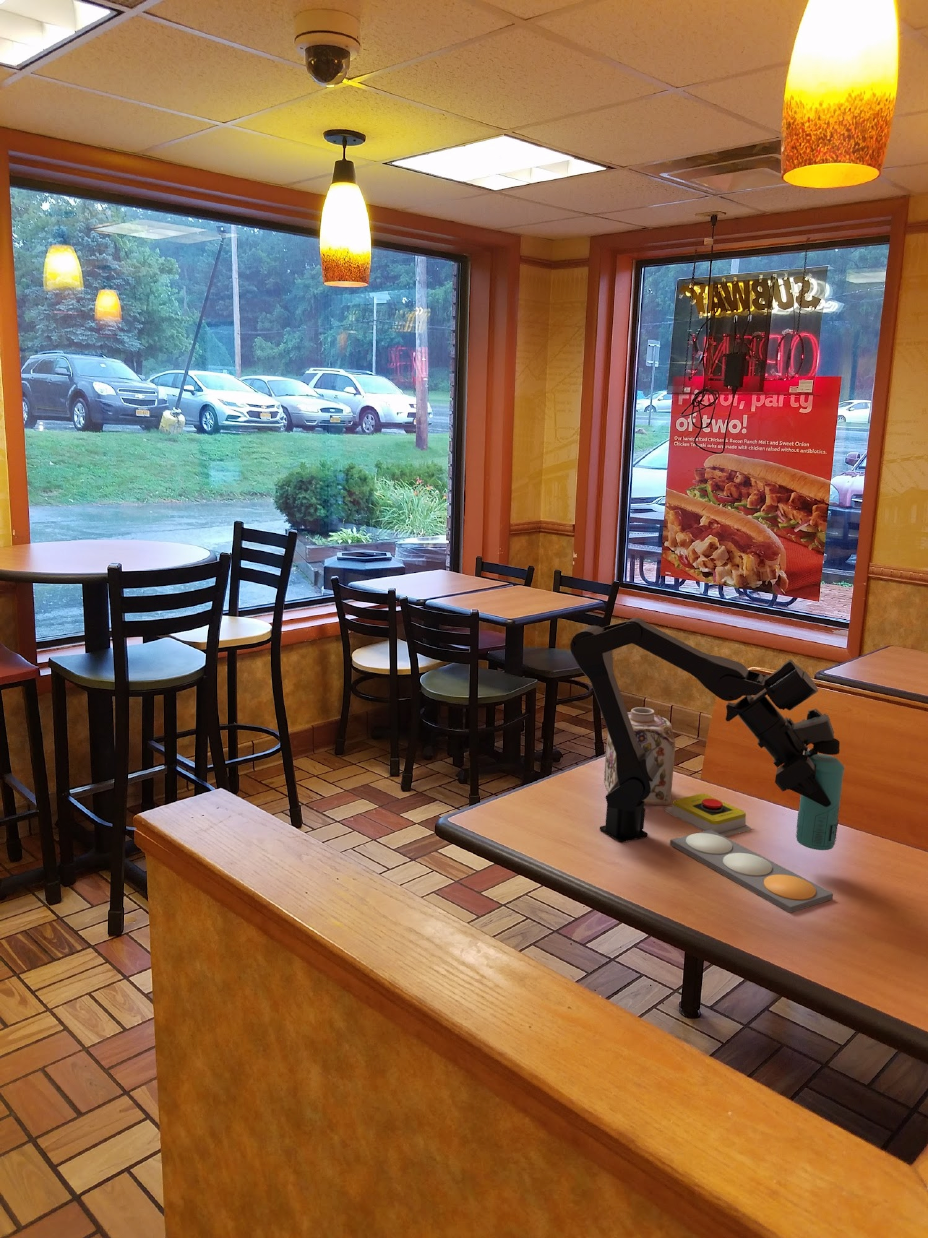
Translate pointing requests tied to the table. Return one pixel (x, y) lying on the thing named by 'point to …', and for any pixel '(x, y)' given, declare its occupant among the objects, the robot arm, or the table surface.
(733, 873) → the panel
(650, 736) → the decorative jar
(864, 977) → the table surface
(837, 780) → the beverage bottle
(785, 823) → the table surface
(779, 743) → the robot arm
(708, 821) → the emergency button
